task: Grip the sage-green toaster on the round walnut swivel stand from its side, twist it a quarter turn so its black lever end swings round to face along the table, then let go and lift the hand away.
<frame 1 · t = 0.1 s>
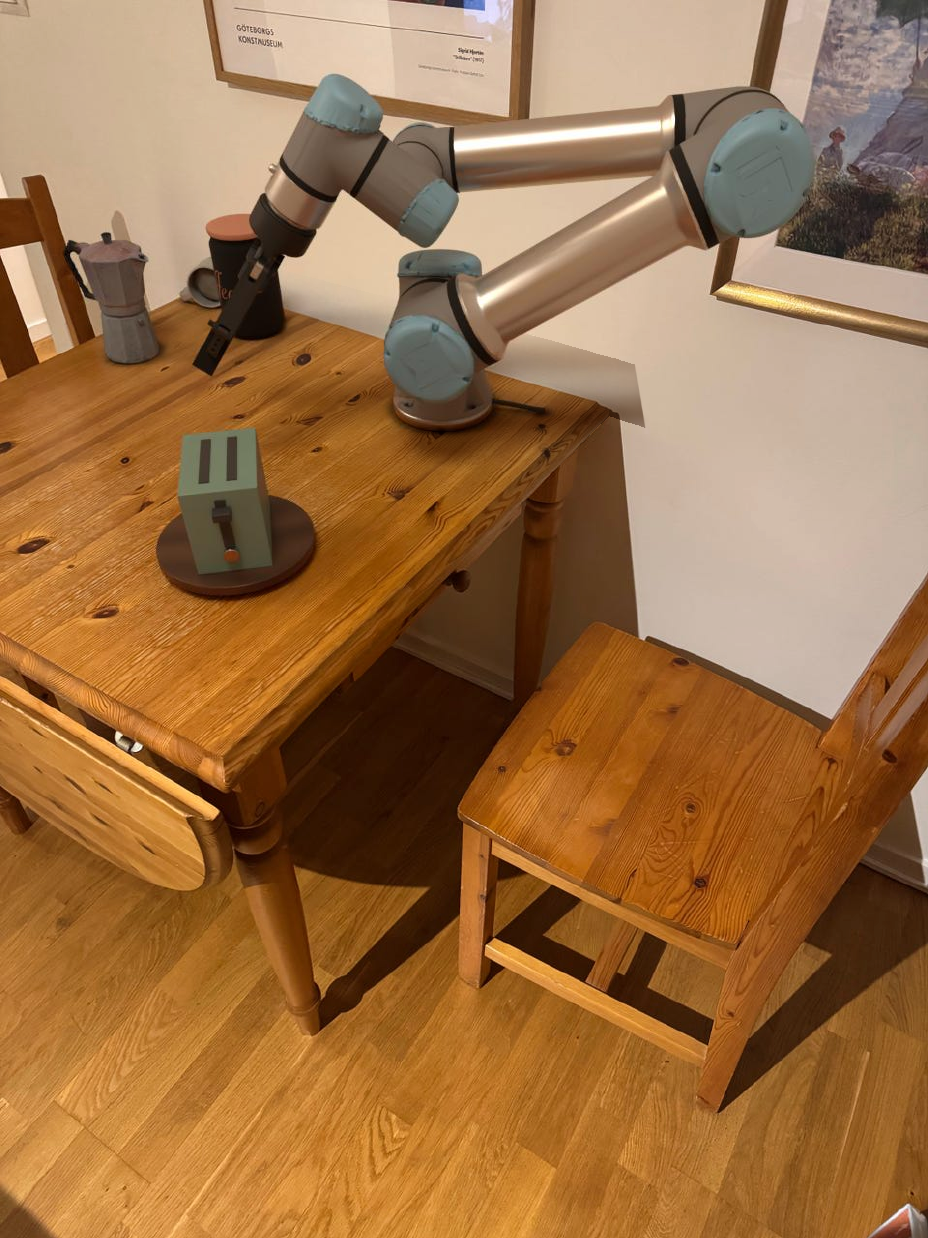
hand: (216, 345, 115), 15 cm above the table, tool tilted 35°, fingers open, 13 cm apart
swivel stand: (239, 552, 107), on the table
ceramic mug: (210, 301, 164), on the table
coffee jar: (256, 329, 155), on the table
toaster: (228, 503, 102), point 7 cm above the table, hinge at 0.0°
moka pot: (131, 354, 148), on the table
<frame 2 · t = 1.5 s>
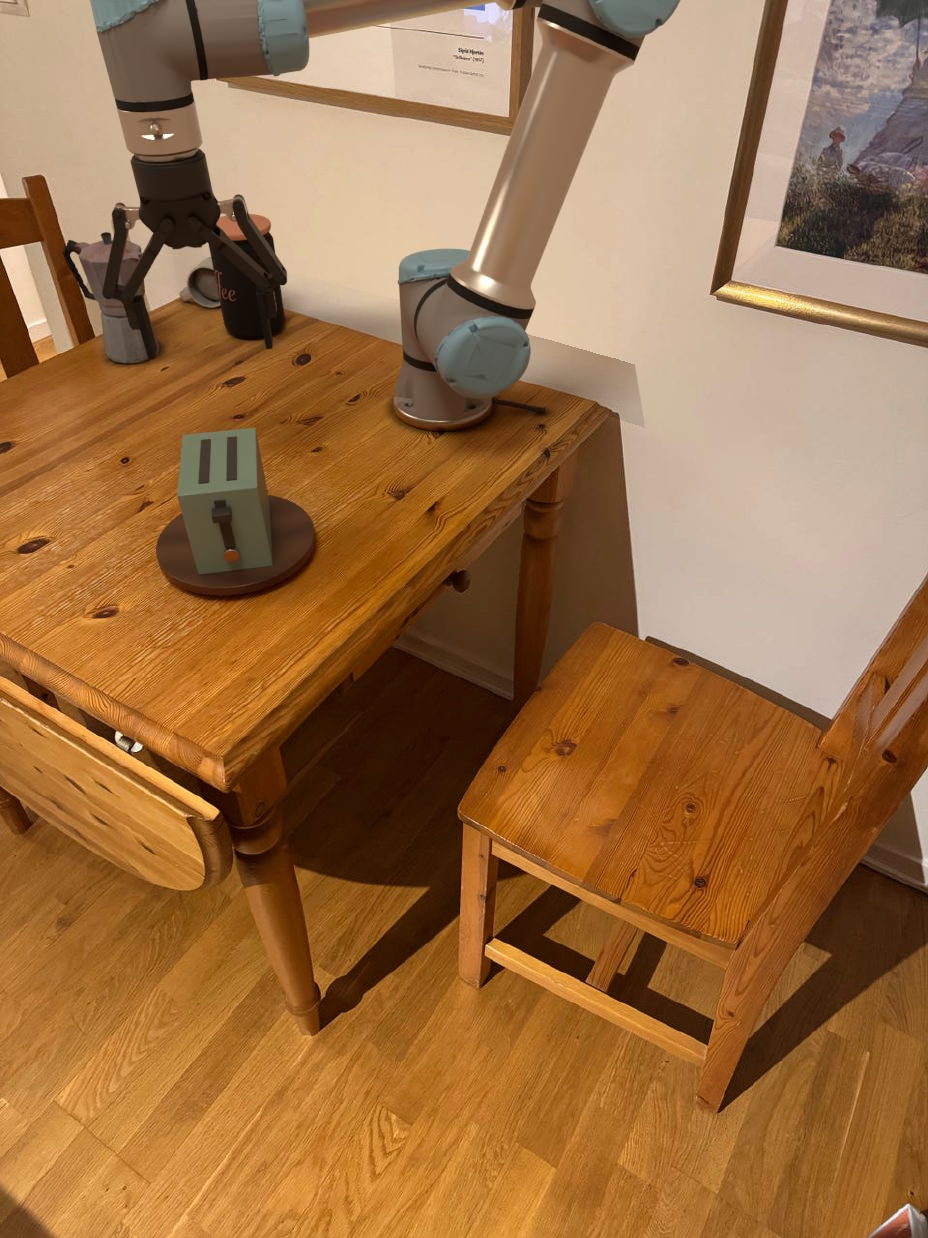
hand: (211, 349, 102), 20 cm above the table, tool pointing down, fingers open, 13 cm apart
nothing on the table moved.
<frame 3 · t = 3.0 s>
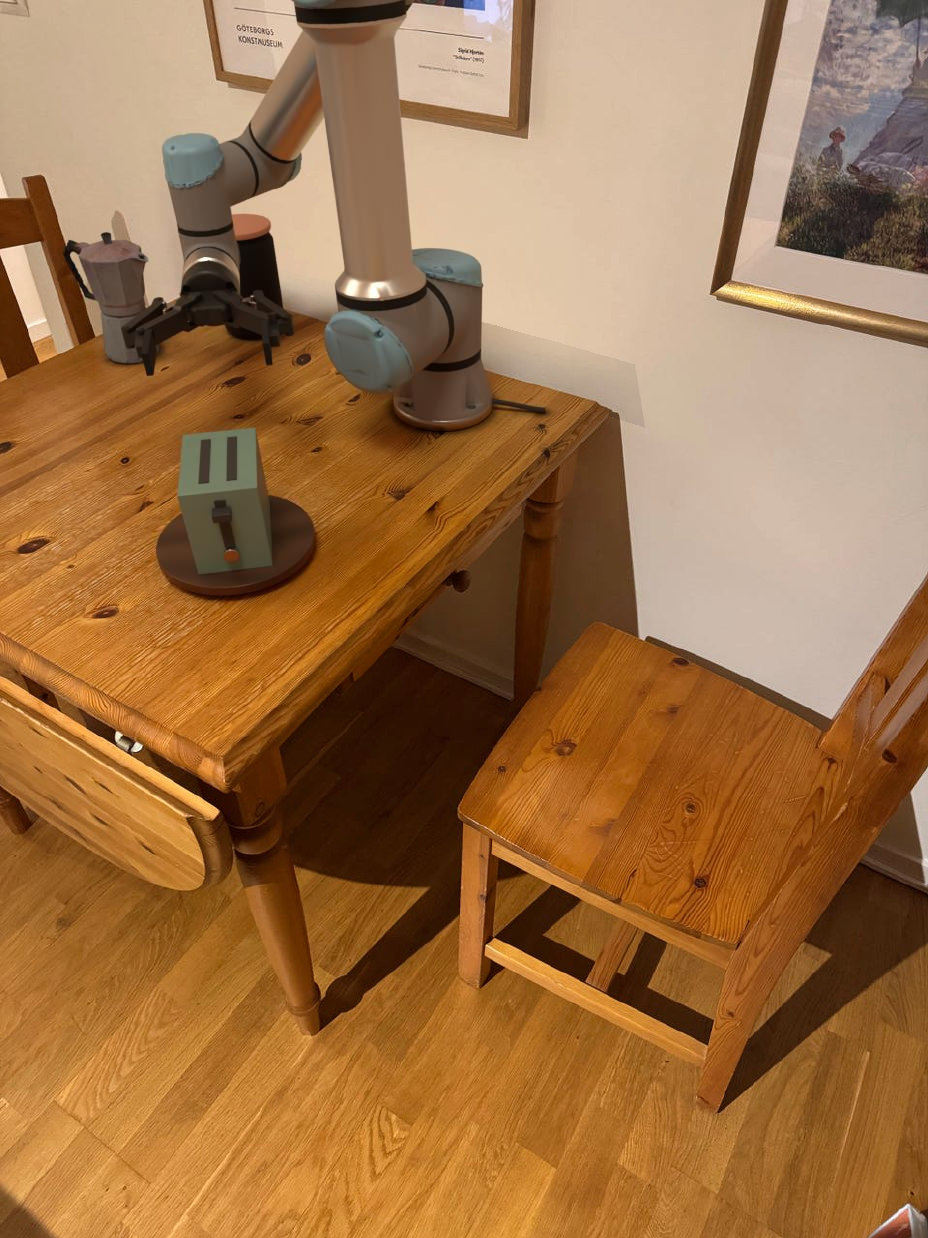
hand: (208, 359, 99), 21 cm above the table, tool horizontal, fingers open, 13 cm apart
nothing on the table moved.
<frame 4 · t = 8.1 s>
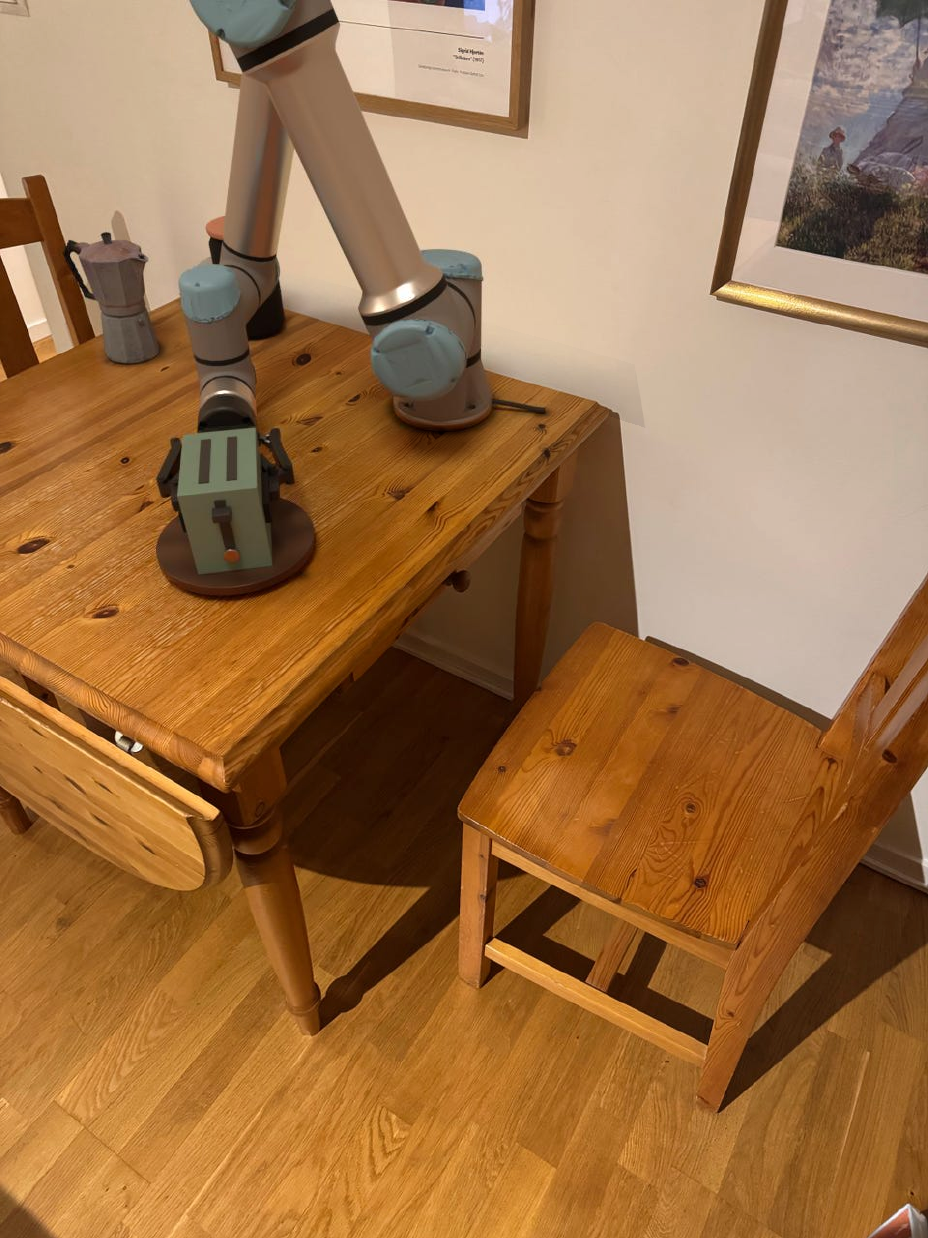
hand: (226, 517, 98), 9 cm above the table, tool horizontal, fingers closed on toaster, 8 cm apart
toaster: (228, 503, 102), point 7 cm above the table, hinge at 0.0°, touching gripper
everything else where it was.
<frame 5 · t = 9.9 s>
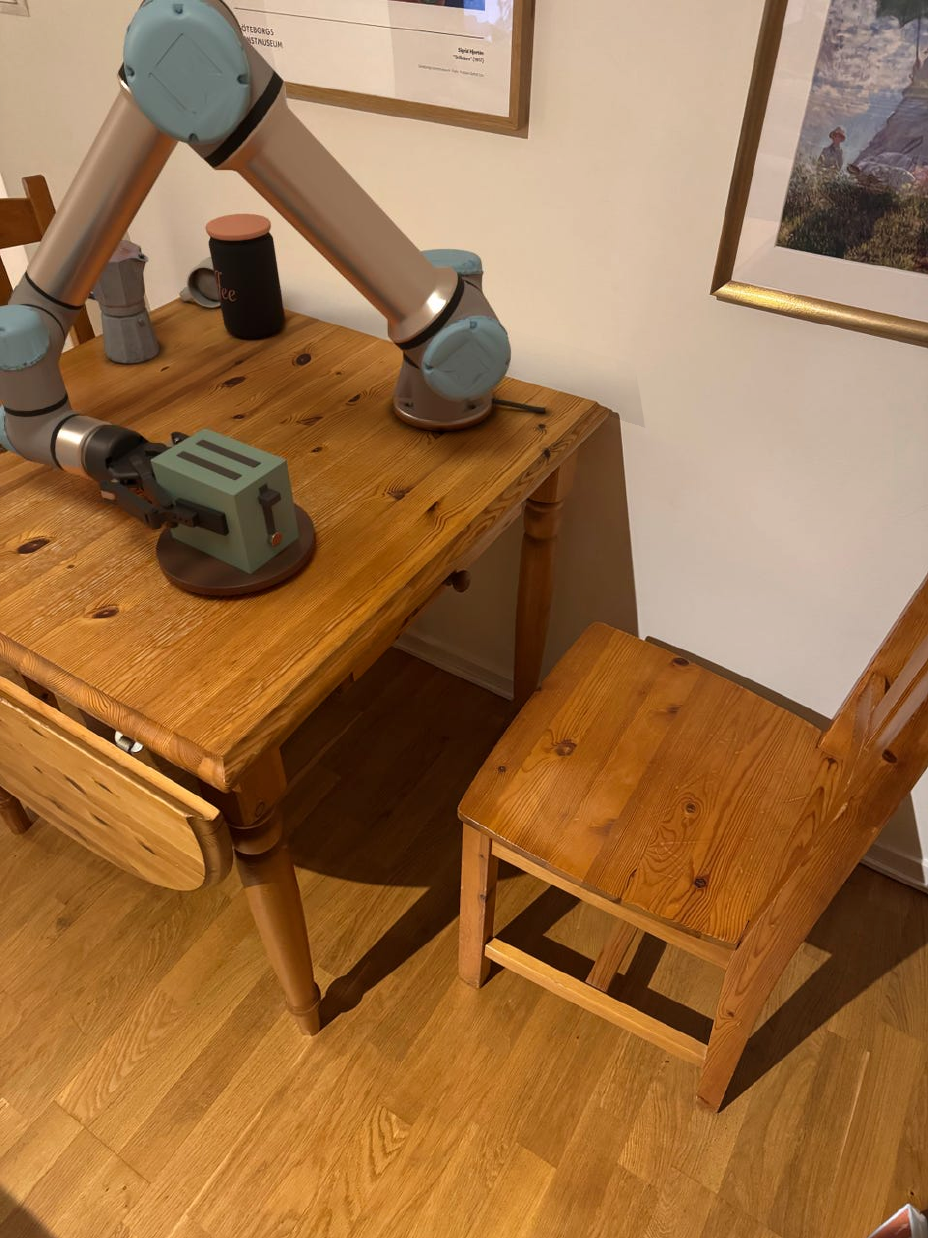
hand: (252, 501, 99), 9 cm above the table, tool horizontal, fingers closed on toaster, 9 cm apart
toaster: (228, 503, 102), point 7 cm above the table, hinge at 45.9°, touching gripper
everything else where it was.
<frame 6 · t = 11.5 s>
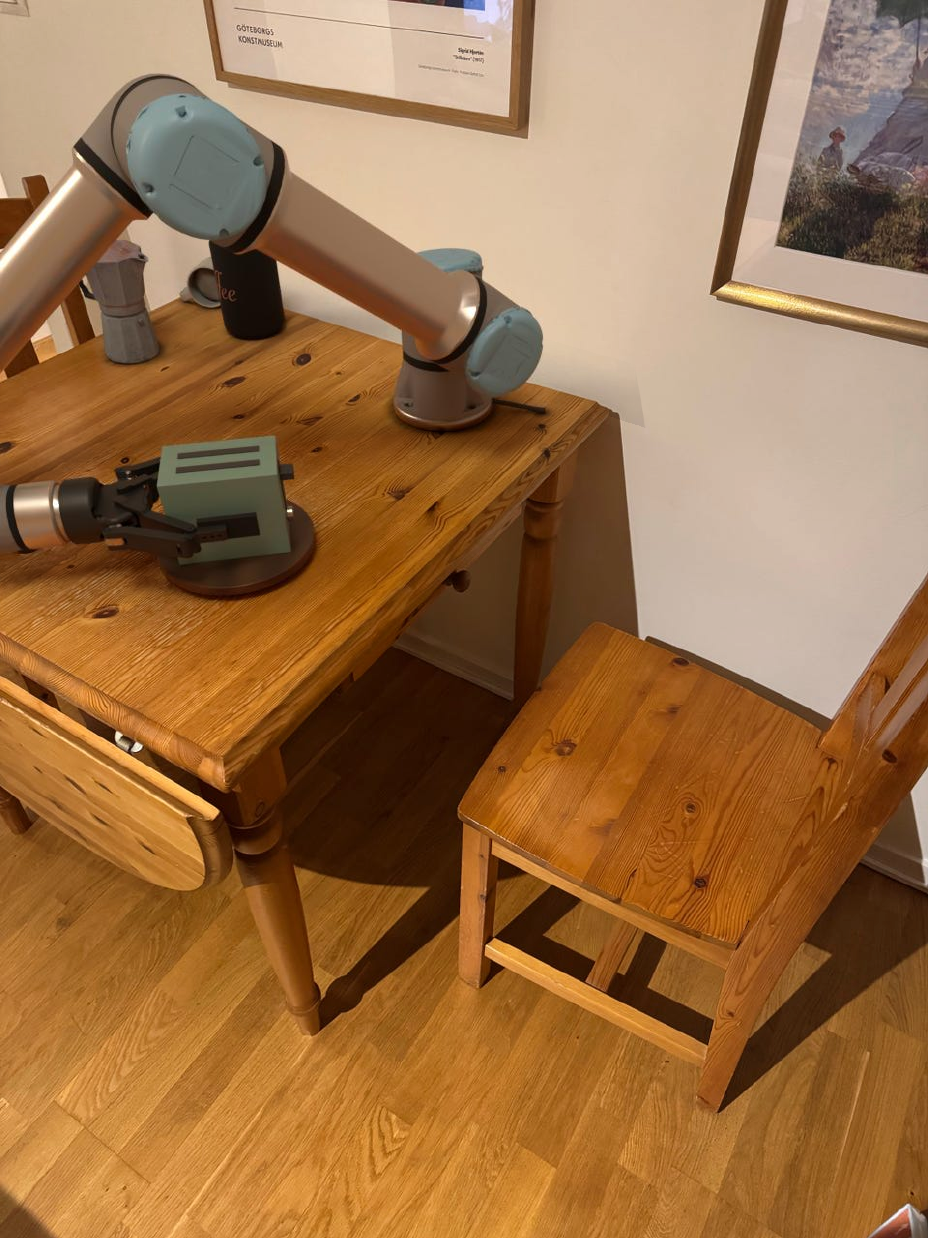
hand: (257, 491, 101), 8 cm above the table, tool horizontal, fingers open, 12 cm apart
toaster: (228, 503, 102), point 7 cm above the table, hinge at 89.5°
everything else where it was.
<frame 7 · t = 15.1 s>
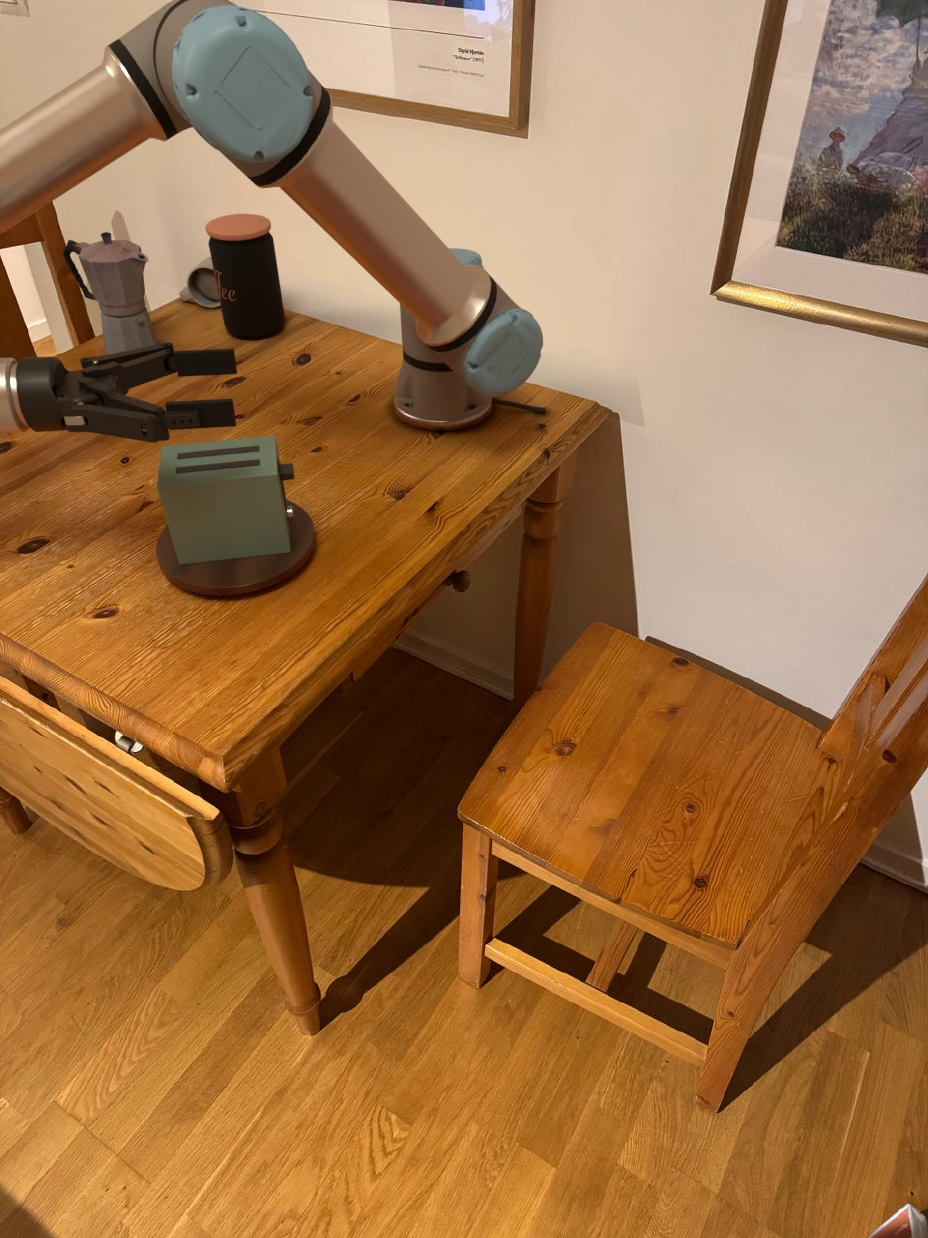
hand: (235, 385, 93), 22 cm above the table, tool horizontal, fingers open, 13 cm apart
nothing on the table moved.
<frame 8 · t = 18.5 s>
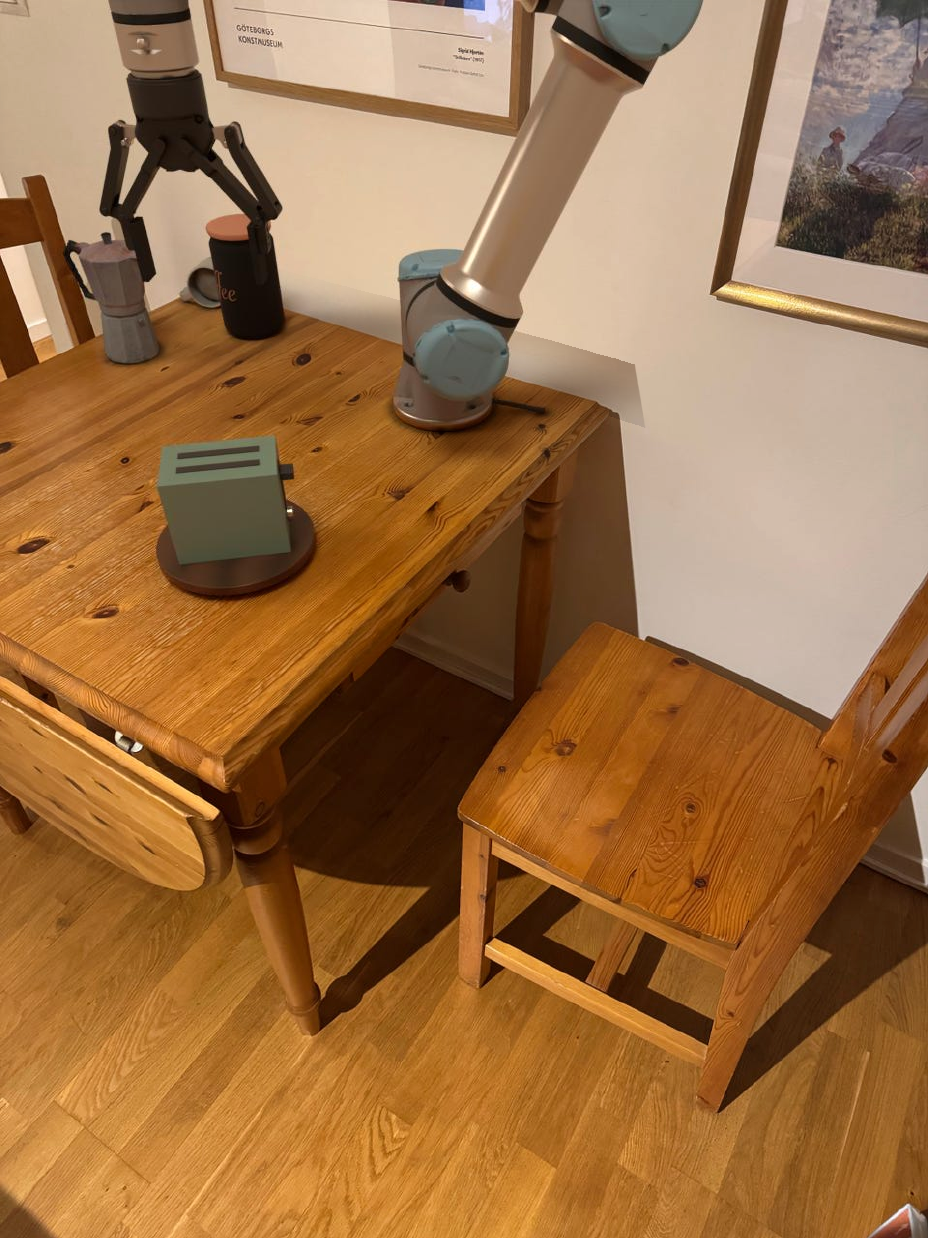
hand: (205, 279, 102), 27 cm above the table, tool pointing down, fingers open, 13 cm apart
nothing on the table moved.
at the end: toaster at +90° (first picture: +0°); the gripper is holding nothing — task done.
